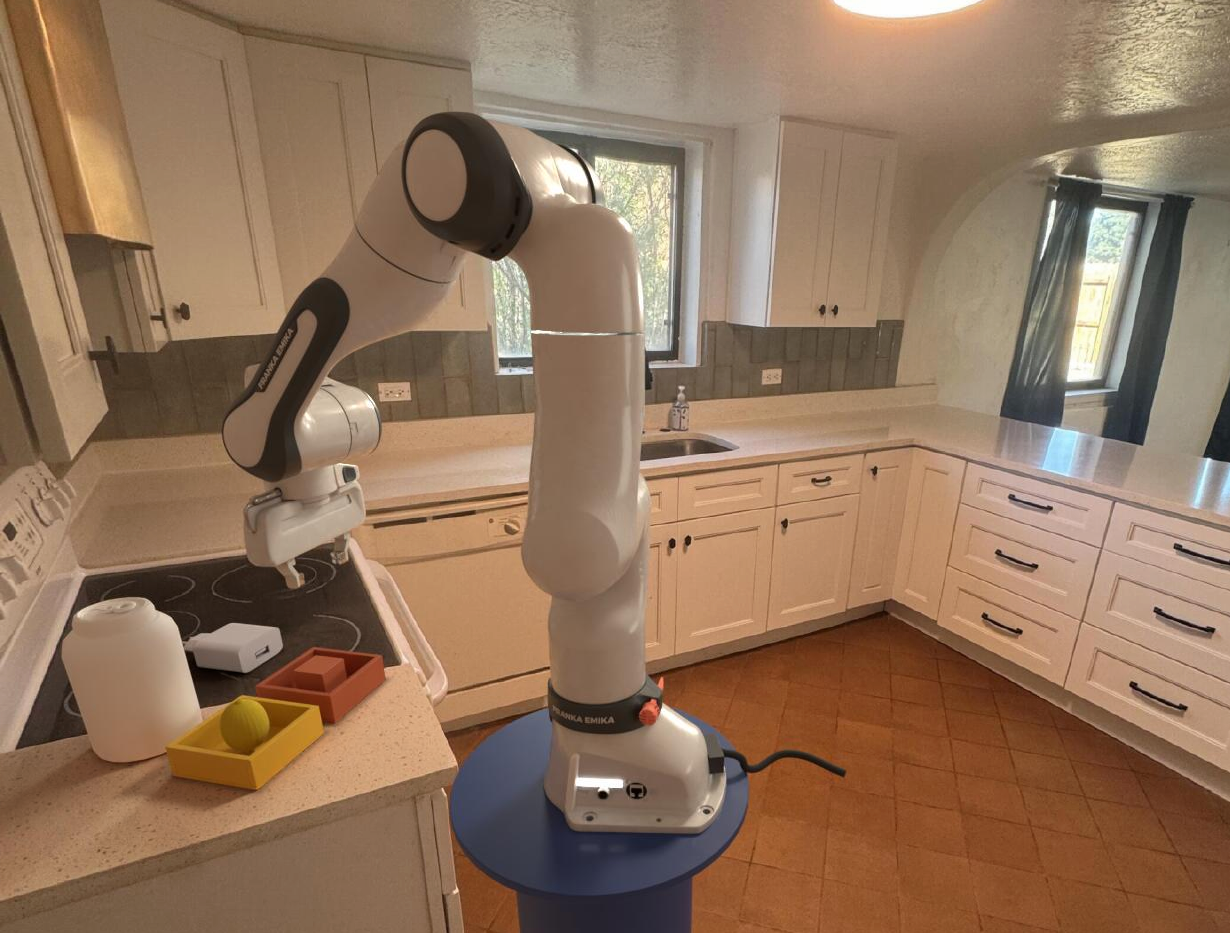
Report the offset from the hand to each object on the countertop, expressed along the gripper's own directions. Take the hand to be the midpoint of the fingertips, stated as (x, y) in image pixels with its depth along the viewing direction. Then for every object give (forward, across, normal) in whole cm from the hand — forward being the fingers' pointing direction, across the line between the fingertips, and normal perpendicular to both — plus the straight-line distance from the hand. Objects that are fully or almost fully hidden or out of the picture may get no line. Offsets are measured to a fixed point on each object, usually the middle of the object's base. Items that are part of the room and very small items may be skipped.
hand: (319, 574), depth 99 cm
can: (+20, -15, +20) cm, 32 cm away
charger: (+20, +7, +28) cm, 35 cm away
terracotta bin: (+20, 0, +3) cm, 21 cm away
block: (+20, 0, +3) cm, 20 cm away
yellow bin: (+20, -15, +3) cm, 26 cm away
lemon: (+20, -15, +3) cm, 25 cm away
